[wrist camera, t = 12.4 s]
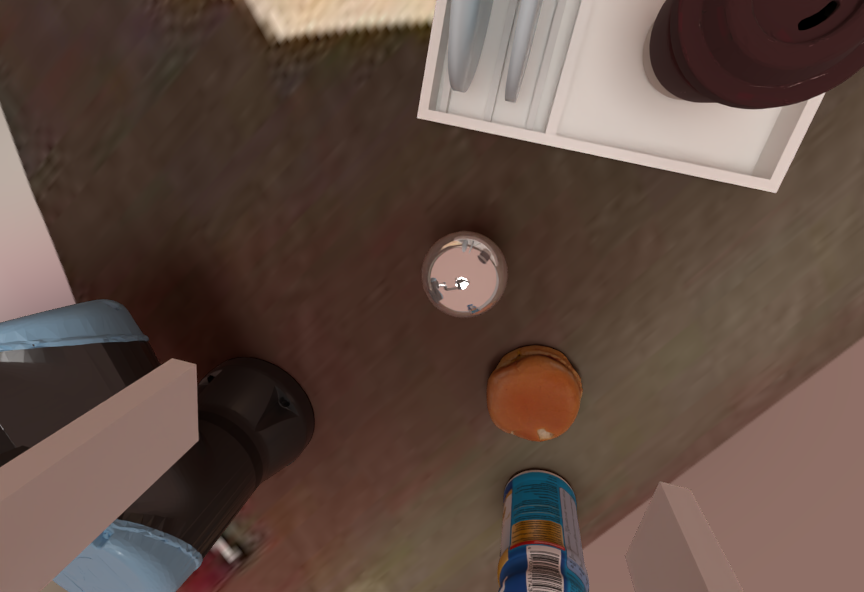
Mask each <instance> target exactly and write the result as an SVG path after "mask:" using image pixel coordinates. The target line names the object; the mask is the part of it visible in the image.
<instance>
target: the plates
mask: <svg viewBox="0 0 864 592" xmlns="http://www.w3.org/2000/svg"><path fill="white" fill-rule="evenodd" d="M542 3H543V0H521V5H520V10H519V15H518V20H517V25H516V30H515V35H514V40H513V45H512V51H511V56H510V62H509V68H508V74H507V81H506V88H505V101H508V102H513V103H515V102H516V100H517V98H518V95H519V91H520V88H521V85H522V81H523V77H524V74H525V70H526V66H527V63H528V59H529V55H530V51H531V47H532V43H533V39H534V35H535V31H536V27H537V23H538V19H539V15H540V11H541V7H542ZM492 5H493V0H452V1H451V12H450V23H449V38H448V74H449V81H450V86H451V88H452V90H453V91H458V92H463V93H465V92H466V91H467V90H468V88H469V87H470V85H471V83H472V80H473V78H474V75H475V72H476V69H477V66H478V63H479V60H480V56H481V53H482V49H483V45H484V41H485V37H486V33H487V29H488V24H489V20H490V15H491V10H492Z"/></svg>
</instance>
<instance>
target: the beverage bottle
mask: <svg viewBox="0 0 864 592" xmlns="http://www.w3.org/2000/svg"><path fill="white" fill-rule="evenodd" d="M498 583H499V586H500V588H499V591H498V592H589V579H588V574H587V570H586V568H585V565H584V558H583V551H582V544H581V537H580V531H579V524H578V517H577V505H576V498H575V494H574V492H573V490H572V488H571V487H570V485H569V484H568V483H567V482H566V481H565V480H564V479H562V478H561V477H560V476H558V475H556V474H554V473H551V472H548V471H544V470H528V471H524V472H521V473H519V474H517V475H515V476H514V477H513V478H512V479H511V480H510V481H509V482H508V483H507V485H506V487H505V491H504V506H503V523H502V538H501V552H500V559H499V563H498Z"/></svg>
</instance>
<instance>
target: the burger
mask: <svg viewBox="0 0 864 592" xmlns="http://www.w3.org/2000/svg"><path fill="white" fill-rule="evenodd" d="M582 392H583V388H582V383H581V378H580V377H579V375H578V373H577V372H576V371H575V370H574V369H573V367H572V365H571V364H570V363H569V361H568V360H567V358H566V357H565V356H564V355H563V354H562V353H561V352H560V351H558V350H555V349H552V348H549V347H545V346H538V345H532V346H526V347H522V348H518V349H516V350H514V351H512V352H510V353H508V354H506V355H505V356H504V357H503V358H502V359H501V361H500V362H499V364H498V366H497V367H496V369H495V370H494V371H493V372H492V374H491V376H490V377H489V379H488V384H487V407H488V410H489V414H490V417H491V419H492V421H493V422H494V424H495V425H496V426H497V427H498V428H500V429H501V430H503V431H504V432H506V433H509V434H510V433H512V434H514V435H516V436H518V437H521V438H524V439H527V440H531V441H539V442H541V441H545V440H550V439H553V438H556V437H558V436H560V435H561V434H563V433H564V432H565V431H567V430H568V428H569V427H570V426H571V424H572V423H573V422H574V420H575V418H576V416H577V413H578V410H579V406H580V399H581V397H582Z"/></svg>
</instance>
